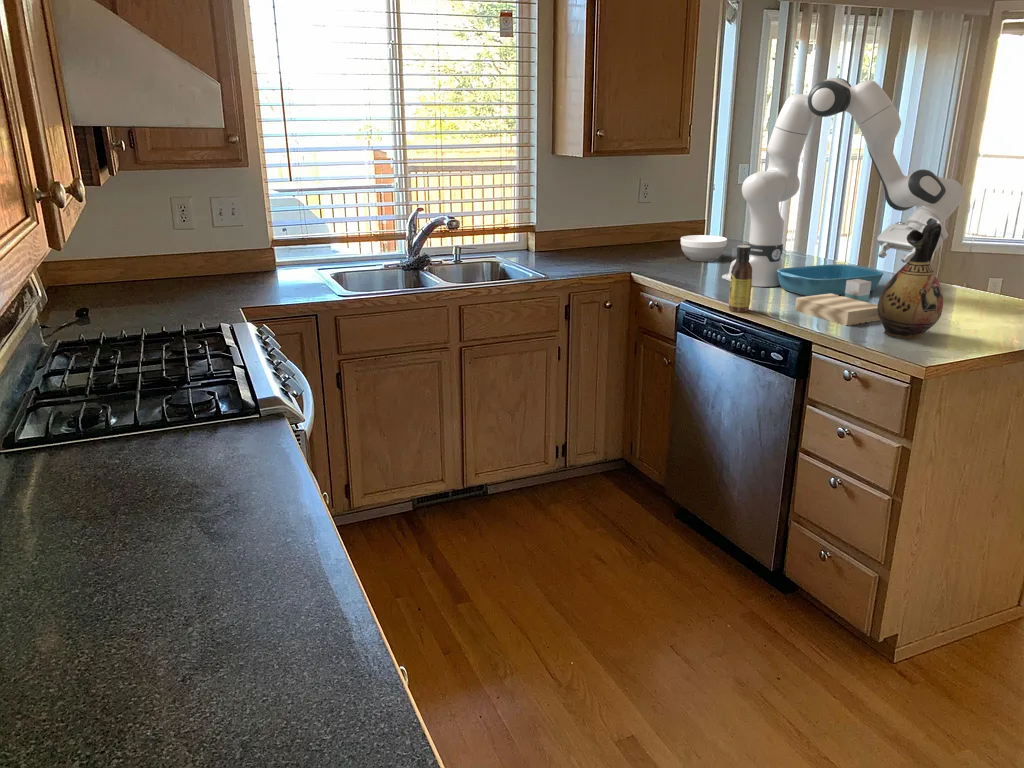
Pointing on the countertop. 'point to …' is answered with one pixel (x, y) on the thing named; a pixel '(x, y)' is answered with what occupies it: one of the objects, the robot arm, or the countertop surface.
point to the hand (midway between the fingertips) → (891, 259)
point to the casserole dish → (825, 278)
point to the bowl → (703, 247)
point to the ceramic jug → (913, 290)
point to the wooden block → (837, 309)
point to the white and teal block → (858, 289)
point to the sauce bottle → (741, 281)
